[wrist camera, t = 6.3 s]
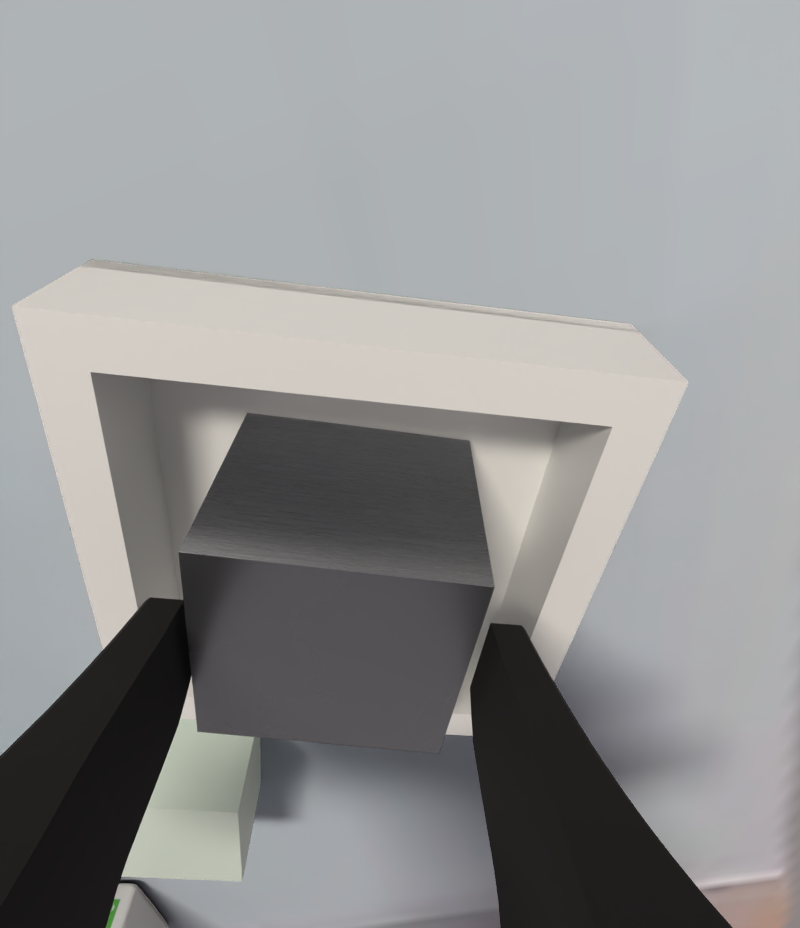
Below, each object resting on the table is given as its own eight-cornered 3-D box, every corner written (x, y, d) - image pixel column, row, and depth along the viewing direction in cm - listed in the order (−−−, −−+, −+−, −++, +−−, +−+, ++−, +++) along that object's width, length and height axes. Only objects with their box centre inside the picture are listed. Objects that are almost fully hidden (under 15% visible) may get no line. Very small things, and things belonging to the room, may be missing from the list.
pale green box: (261, 778, 23) (242, 881, 20) (133, 771, 22) (94, 875, 19) (260, 705, 20) (237, 812, 17) (114, 696, 19) (64, 803, 16)
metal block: (431, 593, 16) (439, 753, 12) (249, 573, 15) (197, 732, 11) (469, 440, 13) (494, 587, 9) (247, 411, 12) (178, 552, 9)
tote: (510, 654, 18) (527, 739, 16) (157, 629, 17) (120, 715, 15) (630, 323, 12) (688, 382, 10) (91, 258, 11) (11, 306, 9)
